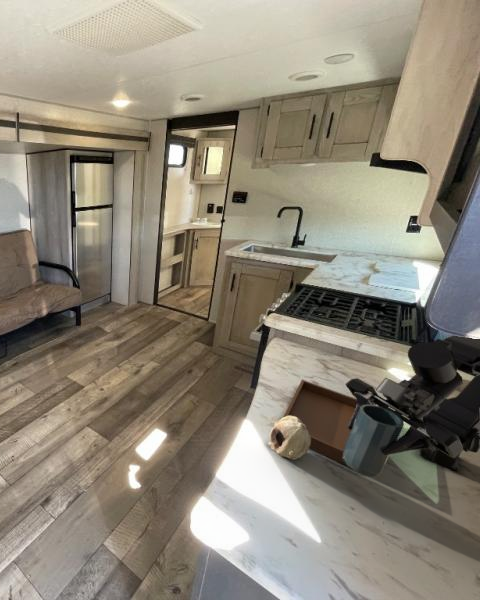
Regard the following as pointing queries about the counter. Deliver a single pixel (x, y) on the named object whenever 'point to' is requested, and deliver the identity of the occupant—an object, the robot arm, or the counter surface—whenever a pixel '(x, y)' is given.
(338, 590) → the counter surface
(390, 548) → the counter surface
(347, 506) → the counter surface
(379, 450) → the tumbler
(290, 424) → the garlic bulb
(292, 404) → the tray
